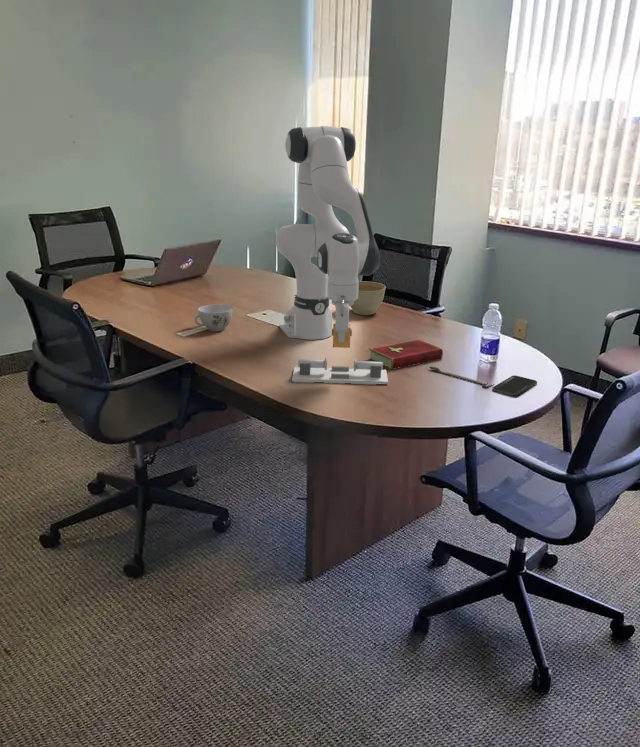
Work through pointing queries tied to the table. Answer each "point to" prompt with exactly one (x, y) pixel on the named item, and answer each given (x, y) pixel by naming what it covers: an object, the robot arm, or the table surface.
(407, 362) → the hardcover book
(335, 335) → the block
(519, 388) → the phone
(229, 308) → the teacup
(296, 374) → the shaft rig
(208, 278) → the table surface
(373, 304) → the planter bowl
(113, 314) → the table surface
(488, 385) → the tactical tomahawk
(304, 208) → the robot arm
